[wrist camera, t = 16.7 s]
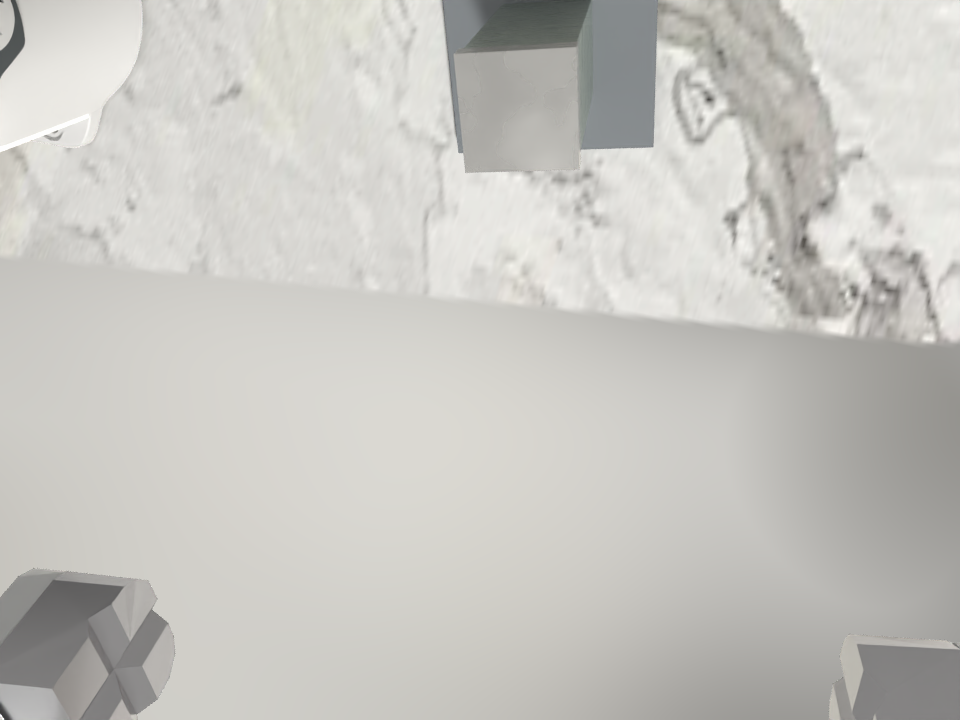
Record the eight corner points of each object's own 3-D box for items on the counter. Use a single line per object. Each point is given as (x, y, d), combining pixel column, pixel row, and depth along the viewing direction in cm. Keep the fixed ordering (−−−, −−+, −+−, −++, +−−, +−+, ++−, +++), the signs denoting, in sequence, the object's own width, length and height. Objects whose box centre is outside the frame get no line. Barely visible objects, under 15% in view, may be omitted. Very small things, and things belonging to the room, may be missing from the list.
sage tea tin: (507, 96, 44) (465, 172, 34) (500, 2, 41) (453, 54, 31) (595, 92, 43) (579, 169, 33) (594, -5, 40) (576, 47, 30)
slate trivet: (461, 148, 47) (458, 153, 46) (440, -63, 41) (436, -61, 40) (653, 142, 45) (653, 147, 44) (659, -81, 39) (660, -80, 38)
